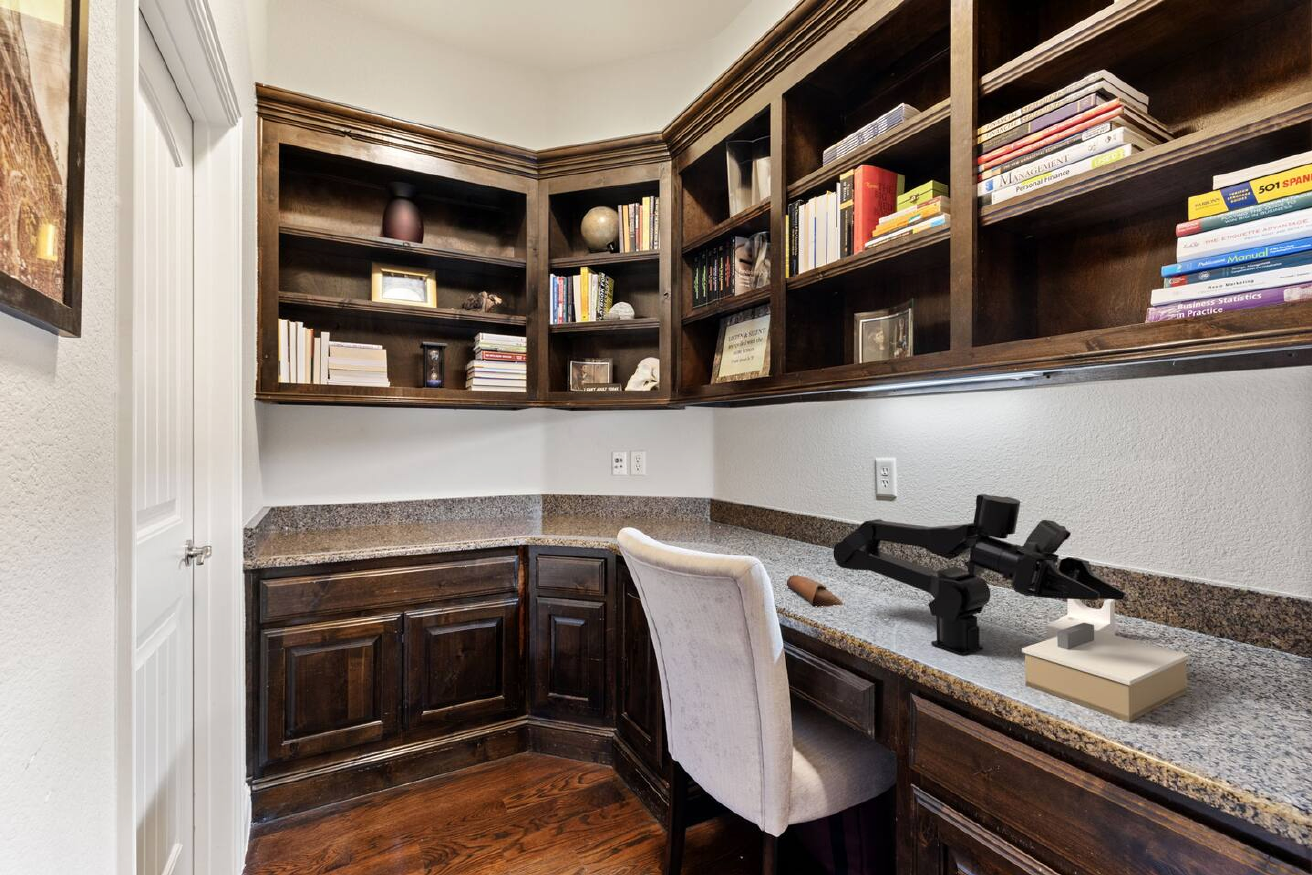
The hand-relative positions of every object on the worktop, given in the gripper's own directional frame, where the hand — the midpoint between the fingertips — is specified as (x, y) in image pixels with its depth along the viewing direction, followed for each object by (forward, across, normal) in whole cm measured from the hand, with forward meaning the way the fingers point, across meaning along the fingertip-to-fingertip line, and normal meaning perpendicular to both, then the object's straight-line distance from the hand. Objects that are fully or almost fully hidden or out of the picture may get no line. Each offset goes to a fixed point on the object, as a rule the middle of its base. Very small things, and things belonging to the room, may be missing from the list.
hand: (1111, 596), depth 91 cm
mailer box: (+1, +5, +15) cm, 16 cm away
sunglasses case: (-61, +8, +27) cm, 67 cm away
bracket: (-11, +26, +14) cm, 31 cm away
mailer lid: (0, +4, +10) cm, 10 cm away
